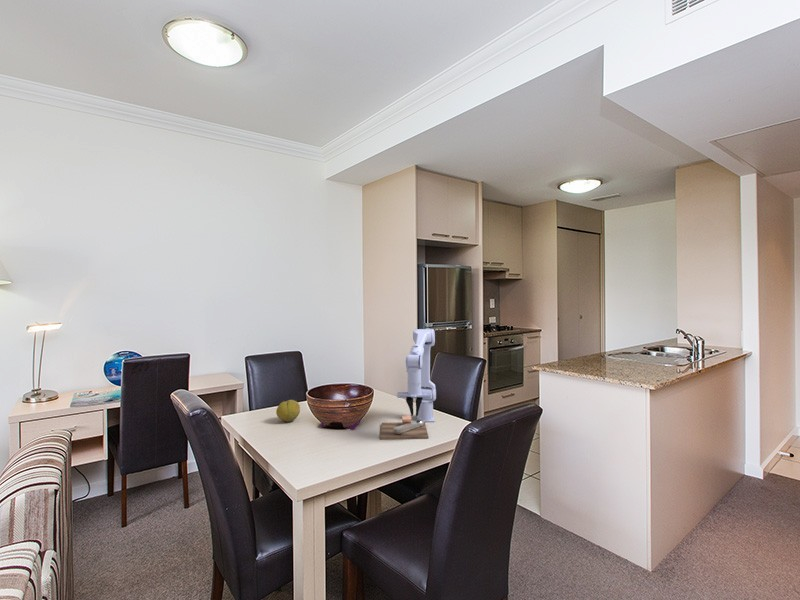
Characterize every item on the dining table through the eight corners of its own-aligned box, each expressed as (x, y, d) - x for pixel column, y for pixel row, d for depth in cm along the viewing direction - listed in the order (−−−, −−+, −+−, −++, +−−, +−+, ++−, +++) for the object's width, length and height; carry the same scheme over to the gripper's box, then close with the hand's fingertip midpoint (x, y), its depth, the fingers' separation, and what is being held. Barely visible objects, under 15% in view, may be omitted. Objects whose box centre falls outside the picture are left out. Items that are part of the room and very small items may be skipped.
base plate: (381, 424, 191) (381, 422, 191) (424, 424, 192) (424, 421, 192) (380, 439, 171) (380, 437, 171) (428, 438, 172) (428, 436, 172)
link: (418, 423, 189) (418, 419, 189) (425, 425, 186) (425, 420, 186) (392, 432, 176) (392, 427, 176) (399, 434, 174) (399, 429, 174)
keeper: (420, 423, 190) (420, 414, 190) (421, 427, 183) (421, 419, 183) (402, 423, 190) (402, 415, 190) (402, 428, 183) (402, 419, 183)
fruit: (305, 420, 199) (305, 400, 199) (284, 426, 190) (283, 404, 190) (293, 416, 207) (293, 396, 207) (271, 421, 198) (271, 400, 198)
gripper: (395, 384, 171) (395, 417, 171) (430, 385, 168) (430, 418, 168) (398, 381, 178) (399, 412, 178) (432, 382, 175) (432, 413, 175)
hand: (414, 415), depth 173 cm, fingers closed
